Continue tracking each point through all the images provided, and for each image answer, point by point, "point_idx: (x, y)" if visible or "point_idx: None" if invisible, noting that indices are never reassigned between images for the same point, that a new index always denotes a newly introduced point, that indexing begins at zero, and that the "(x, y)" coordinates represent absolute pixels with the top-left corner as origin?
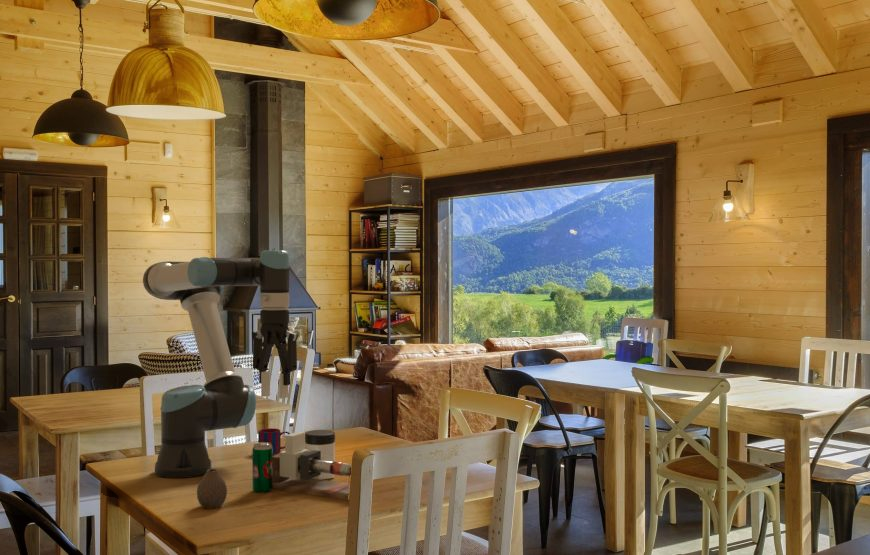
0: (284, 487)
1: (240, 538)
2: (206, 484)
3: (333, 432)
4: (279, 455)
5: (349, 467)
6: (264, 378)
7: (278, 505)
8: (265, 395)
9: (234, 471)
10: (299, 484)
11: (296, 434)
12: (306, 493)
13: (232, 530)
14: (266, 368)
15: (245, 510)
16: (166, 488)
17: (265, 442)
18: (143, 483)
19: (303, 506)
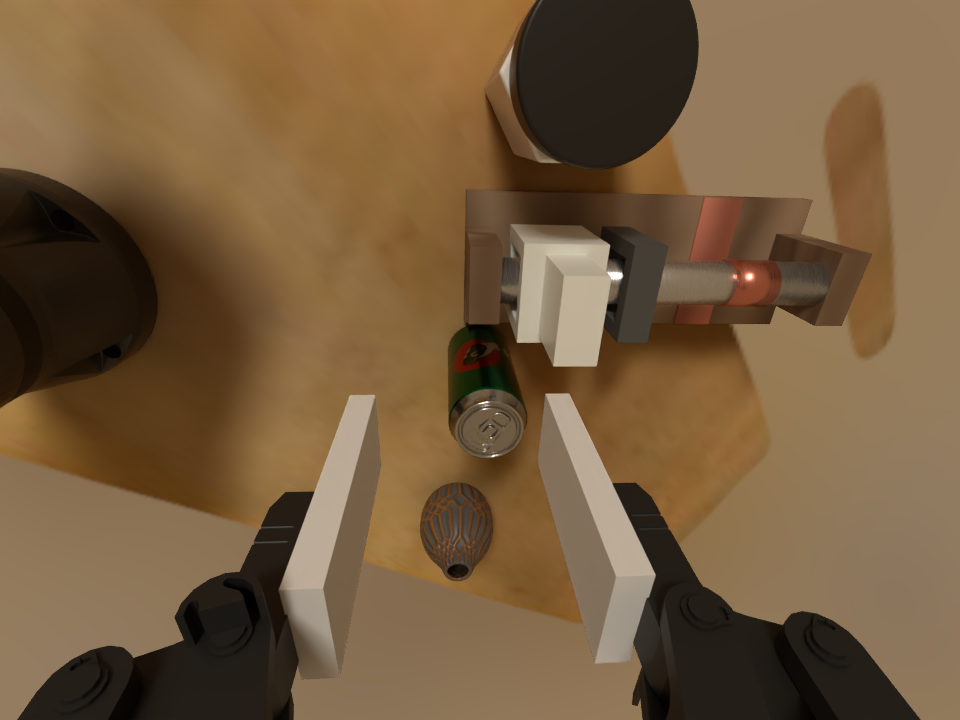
0: None
1: None
2: (465, 566)
3: (690, 24)
4: (482, 292)
5: (803, 304)
6: (354, 589)
7: (595, 430)
8: (377, 449)
9: (197, 183)
10: None
11: (593, 327)
12: None
13: None
14: (275, 655)
15: (544, 486)
16: (218, 442)
17: (481, 404)
18: (110, 435)
19: (657, 411)
